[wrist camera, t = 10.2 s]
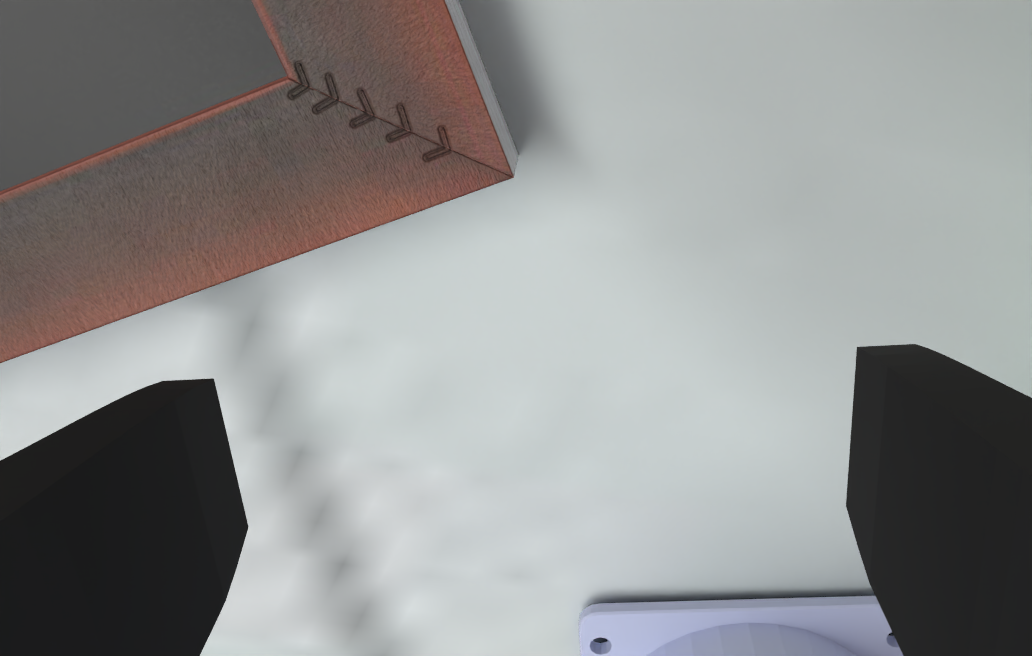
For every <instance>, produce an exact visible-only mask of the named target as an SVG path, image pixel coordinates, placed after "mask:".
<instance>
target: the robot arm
mask: <svg viewBox="0 0 1032 656" xmlns="http://www.w3.org/2000/svg"><path fill="white" fill-rule="evenodd" d="M846 507H847V510H848V514H849V517H850V521H851V524H852V528H853V531H854V535H855V538H856V541H857V545H858V548H859V551H860V555H861V558H862V561H863V564H864V567H865V570H866V573H867V576H868V580H869V583H870V585H871V587H872V589H873V591H874V594H875V596H847V597H811V598H776V599H740V600H705V601H670V602H634V603H599V604H593V605H590V606H588V607H586V608H585V609H584V610H583V611H582V612H581V613H580V617H579V637H580V652H581V656H1032V398H1031V397H1028V396H1026V395H1024V394H1022V393H1020V392H1018V391H1016V390H1014V389H1012V388H1010V387H1008V386H1006V385H1004V384H1002V383H1000V382H998V381H996V380H994V379H992V378H990V377H988V376H986V375H984V374H982V373H980V372H978V371H976V370H974V369H972V368H970V367H968V366H966V365H964V364H962V363H960V362H958V361H956V360H953V359H951V358H949V357H947V356H945V355H943V354H940V353H938V352H936V351H933V350H931V349H928V348H925V347H922V346H919V345H916V344H909V345H889V346H868V347H857V356H856V370H855V385H854V399H853V414H852V428H851V443H850V457H849V472H848V486H847V500H846ZM247 530H248V524H247V519H246V515H245V511H244V506H243V502H242V498H241V494H240V489H239V485H238V481H237V476H236V472H235V468H234V464H233V459H232V455H231V451H230V446H229V442H228V438H227V434H226V429H225V425H224V421H223V416H222V412H221V408H220V403H219V399H218V395H217V391H216V386H215V382H214V379H196V380H175V381H162V382H159V383H156V384H153V385H150V386H147V387H145V388H142V389H140V390H137V391H135V392H133V393H131V394H129V395H126V396H124V397H122V398H120V399H118V400H116V401H114V402H112V403H110V404H108V405H106V406H104V407H102V408H100V409H98V410H96V411H94V412H92V413H90V414H89V415H87V416H85V417H83V418H81V419H79V420H77V421H75V422H73V423H71V424H69V425H68V426H66V427H64V428H62V429H60V430H58V431H56V432H54V433H52V434H51V435H49V436H47V437H45V438H43V439H41V440H39V441H37V442H35V443H33V444H32V445H30V446H28V447H26V448H24V449H22V450H20V451H18V452H16V453H15V454H13V455H11V456H9V457H7V458H5V459H3V460H1V461H0V656H200V654H201V652H202V650H203V647H204V645H205V643H206V641H207V639H208V637H209V635H210V633H211V631H212V629H213V627H214V625H215V622H216V620H217V618H218V616H219V614H220V612H221V609H222V607H223V605H224V603H225V601H226V598H227V595H228V592H229V589H230V586H231V583H232V580H233V577H234V574H235V571H236V568H237V564H238V561H239V557H240V554H241V551H242V547H243V544H244V540H245V537H246V534H247ZM891 632H892V633H893V636H890V635H888V634H890V633H891ZM600 637H601V638H606V639H607V640H608V641H607V642H603V643H598V642H594V641H593V640H594V639H595V638H600Z"/></svg>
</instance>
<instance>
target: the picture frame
mask: <svg viewBox="0 0 1032 656" xmlns="http://www.w3.org/2000/svg"><path fill="white" fill-rule="evenodd" d="M517 160H518V152H517V150H516V147H515V145H514V142H513V139H512V137H511V134H510V132H509V129H508V126H507V124H506V121H505V119H504V116H503V113H502V111H501V108H500V106H499V103H498V101H497V98H496V95H495V93H494V90H493V88H492V85H491V82H490V80H489V77H488V75H487V72H486V69H485V67H484V64H483V62H482V59H481V56H480V54H479V51H478V49H477V46H476V44H475V41H474V38H473V36H472V33H471V31H470V28H469V25H468V23H467V20H466V18H465V15H464V12H463V10H462V7H461V5H460V2H459V0H0V363H2V362H5V361H7V360H10V359H13V358H16V357H18V356H21V355H24V354H27V353H29V352H32V351H35V350H38V349H41V348H43V347H46V346H49V345H52V344H54V343H57V342H60V341H63V340H65V339H68V338H71V337H74V336H76V335H79V334H82V333H85V332H88V331H90V330H93V329H96V328H99V327H101V326H104V325H107V324H110V323H112V322H115V321H118V320H121V319H124V318H126V317H129V316H132V315H135V314H137V313H140V312H143V311H146V310H148V309H151V308H154V307H157V306H159V305H162V304H165V303H168V302H171V301H173V300H176V299H179V298H182V297H184V296H187V295H190V294H193V293H195V292H198V291H201V290H204V289H206V288H209V287H212V286H215V285H218V284H220V283H223V282H226V281H229V280H231V279H234V278H237V277H240V276H242V275H245V274H248V273H251V272H253V271H256V270H259V269H262V268H265V267H267V266H270V265H273V264H276V263H278V262H281V261H284V260H287V259H289V258H292V257H295V256H298V255H301V254H303V253H306V252H309V251H312V250H314V249H317V248H320V247H323V246H325V245H328V244H331V243H334V242H336V241H339V240H342V239H345V238H348V237H350V236H353V235H356V234H359V233H361V232H364V231H367V230H370V229H372V228H375V227H378V226H381V225H383V224H386V223H389V222H392V221H395V220H397V219H400V218H403V217H406V216H408V215H411V214H414V213H417V212H419V211H422V210H425V209H428V208H430V207H433V206H436V205H439V204H442V203H444V202H447V201H450V200H453V199H455V198H458V197H461V196H464V195H466V194H469V193H472V192H475V191H477V190H480V189H483V188H486V187H489V186H491V185H494V184H497V183H500V182H502V181H505V180H508V179H511V178H513V177H514V174H515V169H516V165H517Z"/></svg>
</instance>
